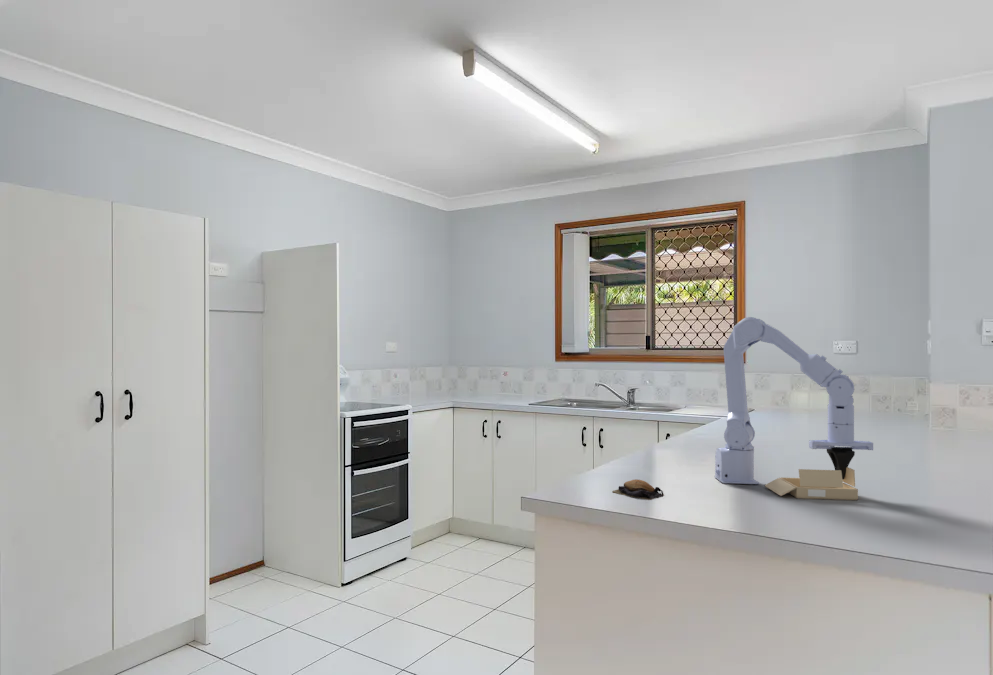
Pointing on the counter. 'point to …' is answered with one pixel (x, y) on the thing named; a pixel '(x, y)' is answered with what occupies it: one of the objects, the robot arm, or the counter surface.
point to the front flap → (820, 478)
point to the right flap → (849, 477)
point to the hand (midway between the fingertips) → (840, 478)
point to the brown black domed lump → (639, 490)
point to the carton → (811, 490)
